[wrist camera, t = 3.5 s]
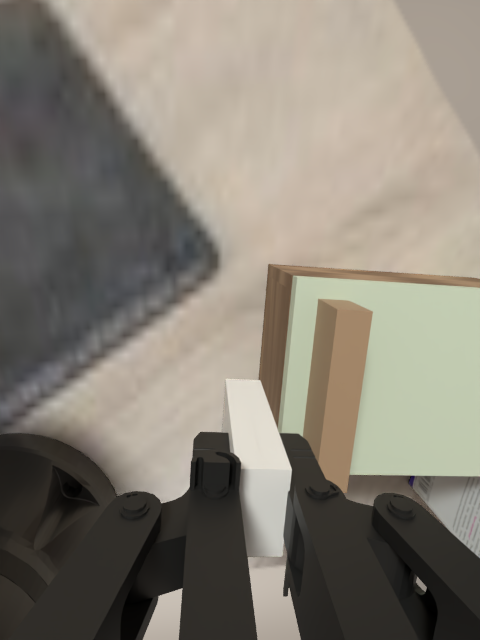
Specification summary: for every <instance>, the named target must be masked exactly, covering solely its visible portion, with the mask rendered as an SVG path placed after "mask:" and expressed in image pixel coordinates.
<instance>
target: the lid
mask: <svg viewBox="0 0 480 640" xmlns="http://www.w3.org/2000/svg"><path fill="white" fill-rule="evenodd" d="M278 432H279V433H298V434H300V435H301V436H302V437H303V438H305V439H306V440H307V441H308V443H309V445H310V447H311V449H312V451H313V453H314V455H315V458H316V459H317V462H318V464H319V466H320V468H321V470H322V472H323V474H324V476H325V478H326V480H329V481H331V482H333V483H334V484H336V485H337V486H338V487H339V488H340V489H341V490H342V492H343V493H347V488H348V481H349V475H411V476H480V288H478V287H463V286H447V285H432V284H416V283H400V282H385V281H369V280H354V279H338V278H322V277H307V276H293V280H292V290H291V300H290V310H289V321H288V331H287V341H286V351H285V361H284V371H283V381H282V391H281V401H280V411H279V421H278Z"/></svg>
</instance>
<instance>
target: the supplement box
mask: <svg viewBox="0 0 480 640" xmlns="http://www.w3.org/2000/svg"><path fill="white" fill-rule="evenodd" d="M409 485H410V486H411V487H412V488H413V489H414V490H415V492H416V493H417V494H418V495H419V496H420V497H421V498H422V500H423V501H424V502H425V503H426V504H427V505H428V507H429V508H430V509H431V510H432V511H433V512H434V514H435V515H436V516H437V517H438V518H439V519H440V521H441V522H442V523H443V524H444V525H445V526H446V528H447V529H448V530H449V531H450V532H451V533H452V534H453V535H454V536H456V537H457V538H458V539H459V540H460V541H461V542H462V543H463V544H465V545H466V546H467V547H468V548H469V549H470V550H471V551H472V552H474V553H475V554H476V555H477V556H478V557H479V558H480V476H411V478H410V481H409Z"/></svg>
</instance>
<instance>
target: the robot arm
mask: <svg viewBox="0 0 480 640" xmlns="http://www.w3.org/2000/svg"><path fill="white" fill-rule="evenodd" d="M284 542H285V546H286V550H287V562H286V571H285V580H284V588H283V589H284V590H283V596H288V588H290V592H291V597H292V601H293V606H294V609H295V614H296V618H297V623H298V627H299V632H300V636H301V640H480V558H479V557H478V556H477V555H476V554H475V553H474V552H472V551H471V550H470V549H469V548H468V547H467V546H466V545H465V544H463V543H462V542H461V541H460V540H459V539H458V538H457V537H456V536H454V535H453V534H452V533H451V532H450V531H449V530H448V529H447V528H446V527H444V526H443V525H442V524H441V523H440V522H439V521H438V520H437V519H435V518H434V517H433V516H432V515H431V514H430V513H429V512H428V511H426V510H425V509H424V508H423V507H422V506H421V505H419V504H418V503H417V502H415V501H414V500H412V499H410V498H408V497H405V496H403V495H400V494H394V493H384V494H381V495H378V496H377V497H376V499H375V500H374V505H373V506H369V505H365V504H360V503H356V502H353V501H350V500H347V499H346V497H345V496H344V494H343V492H342V490H341V489H340V488H339V487H338V486H337V485H336V484H334V483H333V482H331V481H329V480H326V478H325V476H324V474H323V472H322V470H321V468H320V466H319V464H318V462H317V459H316V458H315V455H314V453H313V451H312V449H311V447H310V445H309V443H308V441H307V440H306V439H305V438H303V437H302V436H301V435H300V434H298V433H279V432H278V429H277V426H276V423H275V420H274V418H273V415H272V412H271V409H270V406H269V403H268V401H267V398H266V395H265V392H264V389H263V386H262V384H261V381H260V380H246V379H226V380H225V395H224V410H223V424H222V433H221V432H200V433H199V434H198V435H197V436H196V437H195V439H194V444H193V458H192V461H191V473H190V488H189V489H188V491H187V492H186V493H185V494H184V495H183V496H182V497H180V498H178V499H176V500H173V501H170V502H166V503H162V504H161V502H160V500H159V499H158V498H157V497H156V496H155V495H153V494H150V493H147V492H138V491H134V492H129V493H125V494H123V495H121V496H118V497H116V494H115V492H114V490H113V488H112V486H111V484H110V482H109V480H108V479H107V477H106V476H105V475H104V473H103V472H102V471H101V470H100V468H99V467H98V466H97V465H96V464H95V463H94V462H92V461H91V460H90V459H89V458H88V457H86V456H85V455H84V454H82V453H81V452H79V451H78V450H76V449H74V448H72V447H71V446H69V445H66V444H64V443H62V442H59V441H57V440H54V439H51V438H47V437H43V436H38V435H31V434H2V435H0V640H142V639H143V637H144V634H145V632H146V630H147V627H148V625H149V622H150V620H151V617H152V614H153V612H154V610H155V607H156V605H157V601H158V596H159V595H162V594H165V593H169V592H172V591H175V590H178V589H181V588H183V590H182V604H181V618H180V633H179V640H257V632H256V624H255V616H254V608H253V600H252V592H251V583H250V575H249V567H248V559H247V557H282V556H283V547H284ZM417 576H418V577H419V579H420V580H421V581H422V582H423V583H424V584H425V586H426V587H427V590H426V592H424V591H423V590H422V589H421V588H420V587H419V586H418V585H417V583H416V579H417Z"/></svg>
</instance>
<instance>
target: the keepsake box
mask: <svg viewBox="0 0 480 640" xmlns="http://www.w3.org/2000/svg"><path fill="white" fill-rule="evenodd" d="M293 276H307V277H322V278H338V279H354V280H369V281H385V282H400V283H416V284H432V285H447V286H463V287H478V288H480V279H477V278H468V277H453V276H438V275H423V274H408V273H393V272H378V271H362V270H347V269H332V268H317V267H302V266H287V265H272V264H269V265H268V277H267V288H266V300H265V312H264V323H263V335H262V347H261V358H260V370H259V380H260V381H261V384H262V386H263V389H264V392H265V395H266V398H267V401H268V403H269V406H270V409H271V412H272V415H273V418H274V420H275V423H276V426H277V429H278V421H279V411H280V401H281V391H282V381H283V371H284V361H285V351H286V341H287V331H288V321H289V310H290V300H291V290H292V280H293Z"/></svg>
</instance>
